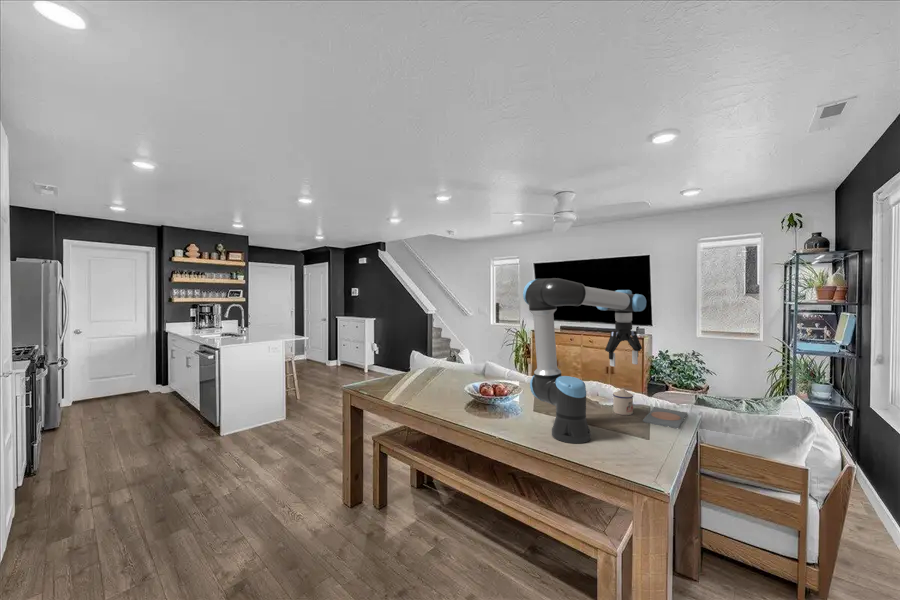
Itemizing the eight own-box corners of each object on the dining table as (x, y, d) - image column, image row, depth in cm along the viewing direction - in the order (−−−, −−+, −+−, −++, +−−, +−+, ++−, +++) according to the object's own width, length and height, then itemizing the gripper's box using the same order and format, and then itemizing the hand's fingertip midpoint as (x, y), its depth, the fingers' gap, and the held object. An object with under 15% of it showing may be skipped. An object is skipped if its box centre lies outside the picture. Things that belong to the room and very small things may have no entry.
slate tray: (678, 428, 162) (678, 426, 162) (642, 421, 171) (642, 419, 171) (687, 414, 181) (687, 412, 181) (654, 409, 190) (654, 406, 190)
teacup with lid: (630, 416, 178) (630, 392, 178) (610, 413, 184) (610, 389, 184) (637, 410, 187) (637, 387, 187) (617, 407, 193) (617, 384, 193)
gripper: (637, 320, 192) (637, 361, 193) (597, 322, 184) (597, 365, 185) (649, 321, 185) (650, 364, 186) (608, 323, 177) (608, 368, 178)
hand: (623, 365), depth 185 cm, fingers open, 13 cm apart
